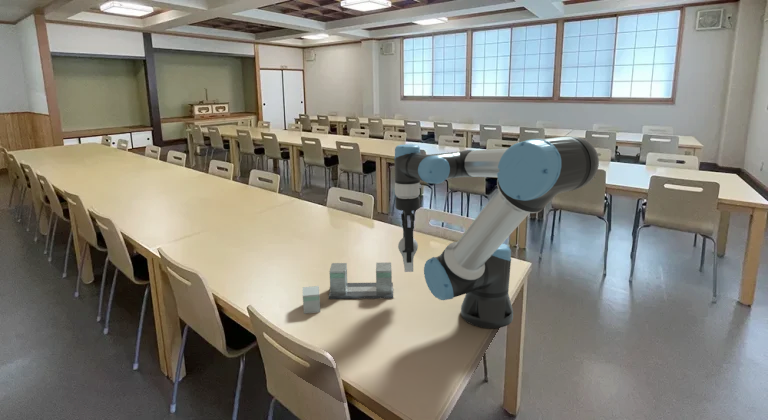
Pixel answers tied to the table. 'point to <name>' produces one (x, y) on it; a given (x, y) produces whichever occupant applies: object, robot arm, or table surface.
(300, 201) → the table surface
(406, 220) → the robot arm
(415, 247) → the lightbulb
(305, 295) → the module
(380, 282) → the grey u-shaped piece
